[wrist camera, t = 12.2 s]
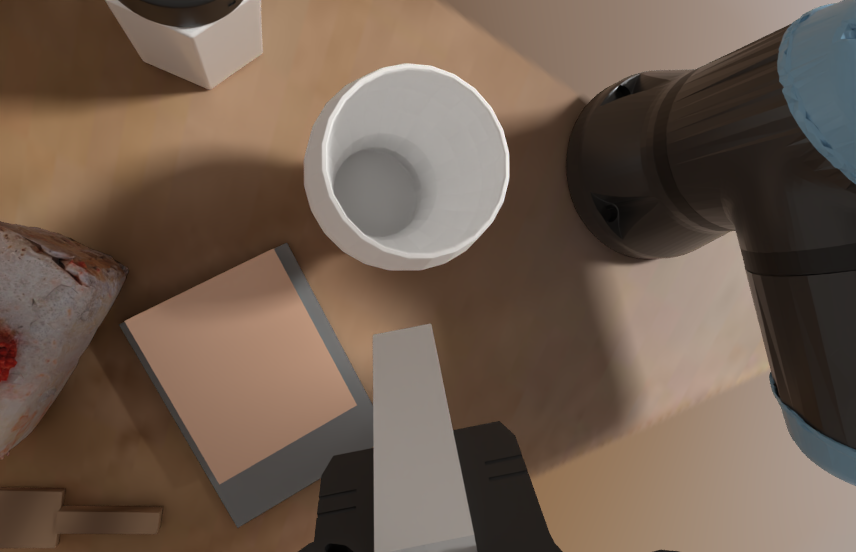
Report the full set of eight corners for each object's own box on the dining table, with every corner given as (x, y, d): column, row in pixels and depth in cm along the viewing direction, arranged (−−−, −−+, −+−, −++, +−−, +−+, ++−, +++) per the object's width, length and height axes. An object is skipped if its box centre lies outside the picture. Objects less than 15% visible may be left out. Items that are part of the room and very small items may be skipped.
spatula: (165, 490, 39) (161, 496, 38) (158, 543, 39) (155, 550, 38) (-23, 486, 36) (-32, 492, 35) (-31, 543, 36) (-40, 551, 35)
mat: (388, 434, 43) (389, 436, 42) (238, 524, 40) (237, 528, 39) (286, 242, 41) (286, 242, 40) (121, 323, 38) (118, 324, 37)
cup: (330, 293, 41) (361, 306, 27) (271, 155, 40) (270, 91, 26) (458, 238, 44) (550, 223, 29) (406, 106, 43) (475, 23, 28)
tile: (357, 405, 39) (273, 248, 37) (219, 484, 37) (124, 321, 35) (352, 397, 41) (273, 249, 40) (222, 471, 39) (133, 317, 38)
